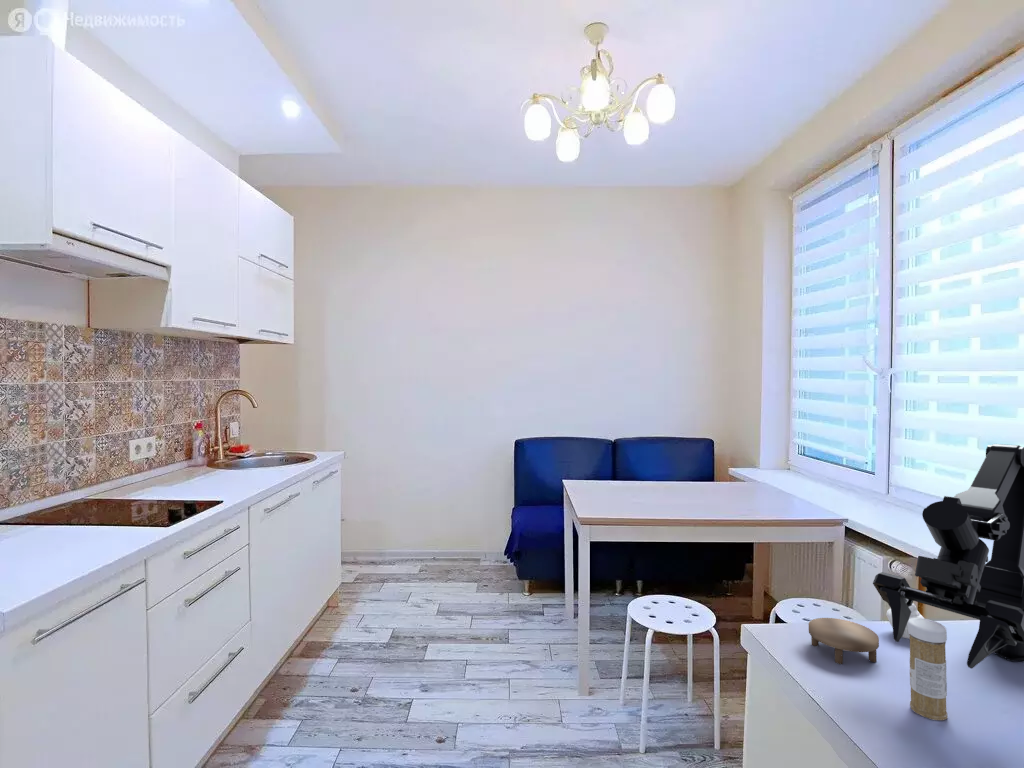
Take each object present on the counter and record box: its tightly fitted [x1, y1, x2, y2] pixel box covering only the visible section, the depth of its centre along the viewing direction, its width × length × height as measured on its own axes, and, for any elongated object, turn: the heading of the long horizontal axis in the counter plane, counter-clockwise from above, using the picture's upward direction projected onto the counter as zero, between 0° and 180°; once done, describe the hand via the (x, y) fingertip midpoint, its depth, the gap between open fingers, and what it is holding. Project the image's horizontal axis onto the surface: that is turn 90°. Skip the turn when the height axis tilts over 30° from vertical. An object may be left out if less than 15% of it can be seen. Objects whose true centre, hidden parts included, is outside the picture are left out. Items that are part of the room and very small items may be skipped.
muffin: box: [886, 602, 924, 640], centre depth 102 cm, size 6×6×7 cm
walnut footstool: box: [808, 617, 880, 665], centre depth 96 cm, size 11×11×4 cm
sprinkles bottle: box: [908, 617, 949, 721], centre depth 78 cm, size 5×5×13 cm
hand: (930, 653), depth 79 cm, fingers open, 9 cm apart
